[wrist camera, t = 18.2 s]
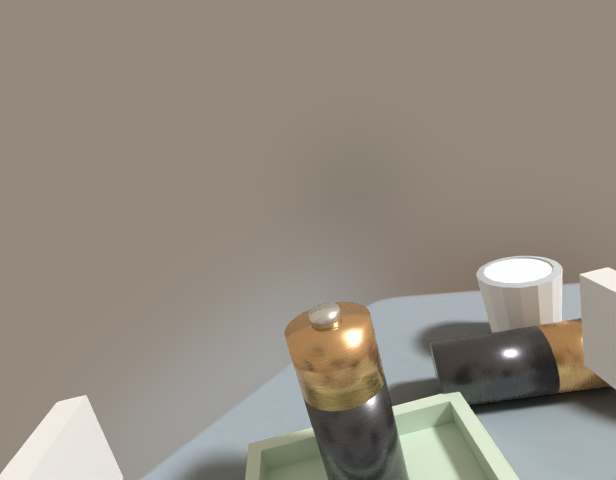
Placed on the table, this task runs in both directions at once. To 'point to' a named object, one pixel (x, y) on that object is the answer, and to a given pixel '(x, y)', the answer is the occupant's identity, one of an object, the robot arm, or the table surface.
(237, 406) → the table surface
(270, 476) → the trough
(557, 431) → the table surface
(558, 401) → the table surface
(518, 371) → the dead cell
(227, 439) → the table surface
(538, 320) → the white cup
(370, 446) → the cell
